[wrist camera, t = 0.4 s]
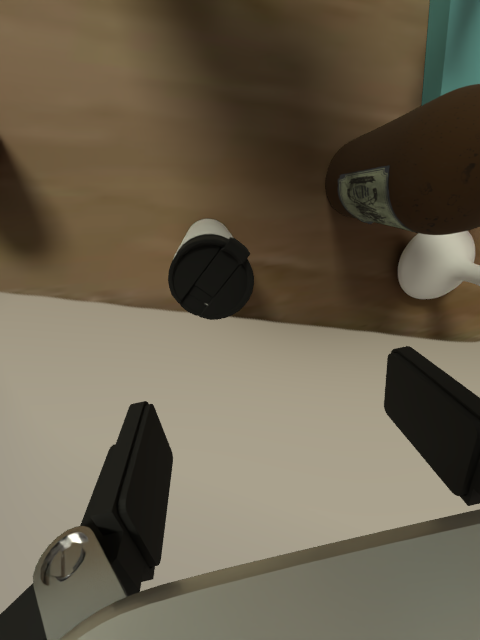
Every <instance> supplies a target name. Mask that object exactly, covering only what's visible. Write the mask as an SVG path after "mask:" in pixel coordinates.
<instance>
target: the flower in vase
mask: <svg viewBox="0 0 480 640" xmlns="http://www.w3.org/2000/svg"><path fill="white" fill-rule="evenodd" d="M474 259H475V245H474V240H473V238H472V236H471V234H470V233H469V232H468V231H464V232H459V233H454V234H448V235H426V234H420V233H418V234H417V235H416V236H415V237H414V238H413V239H412V240H411V241H410V242H409V243H408V245H407V246H406V247H405V249H404V251H403V253H402V255H401V257H400V260H399V264H398V280H399V283H400V285H401V288H402V289H403V290H404V292H405V293H407V294H408V295H409V296H411V297H413V298H417V299H433V298H437V297H440V296H443V295H445V294H447V293H448V292H450V291H452V290H453V289H455V288H456V287H457V286H458V285H460V284H461V283H462V282H463V281H467V282H471V283H474V284H476V285H479V286H480V265H477V264H474Z"/></svg>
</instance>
